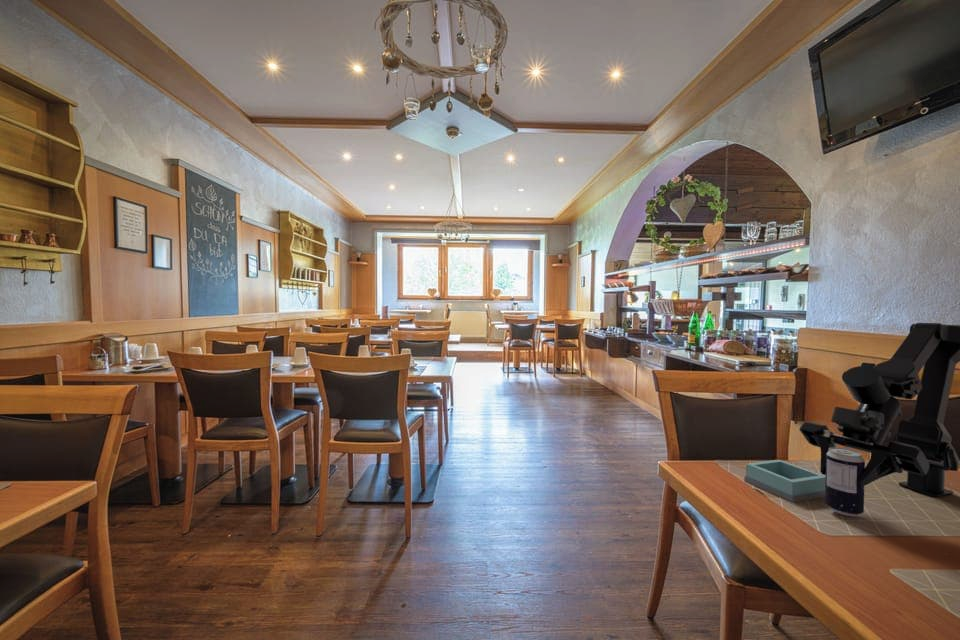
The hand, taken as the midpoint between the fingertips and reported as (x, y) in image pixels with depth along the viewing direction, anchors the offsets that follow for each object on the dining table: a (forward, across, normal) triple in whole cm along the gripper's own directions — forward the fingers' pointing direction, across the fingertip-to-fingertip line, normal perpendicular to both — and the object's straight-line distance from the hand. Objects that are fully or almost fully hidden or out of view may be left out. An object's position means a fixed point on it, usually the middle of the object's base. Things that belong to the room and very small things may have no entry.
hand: (840, 479), depth 78 cm
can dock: (+3, -12, +8) cm, 14 cm away
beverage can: (+4, 0, +6) cm, 7 cm away
